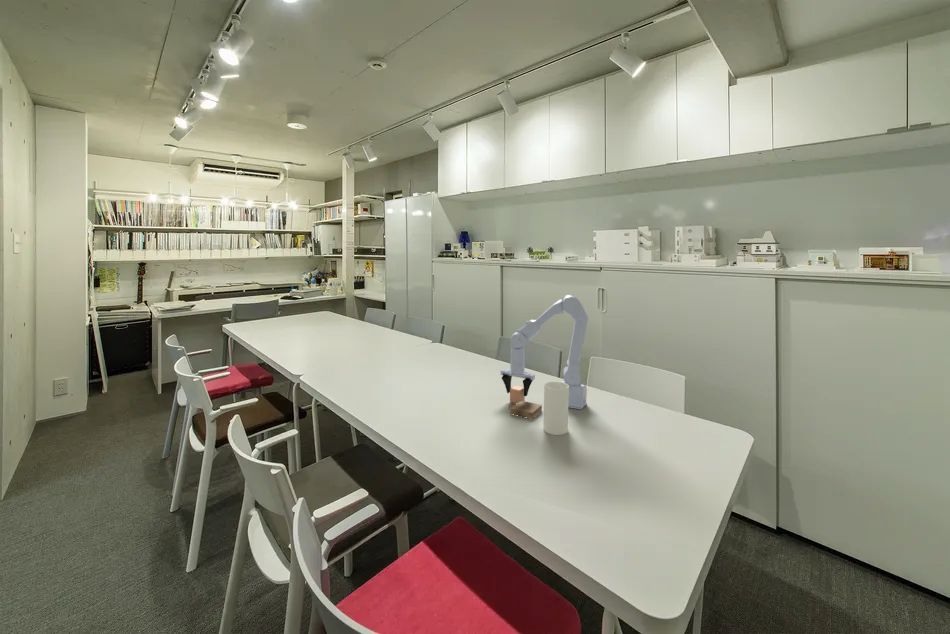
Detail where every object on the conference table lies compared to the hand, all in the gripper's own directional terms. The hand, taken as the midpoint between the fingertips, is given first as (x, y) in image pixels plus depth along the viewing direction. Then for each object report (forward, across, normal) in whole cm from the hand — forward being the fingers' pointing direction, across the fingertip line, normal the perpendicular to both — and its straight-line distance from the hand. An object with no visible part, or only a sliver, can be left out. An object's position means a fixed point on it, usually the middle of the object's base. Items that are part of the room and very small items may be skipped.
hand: (517, 393), depth 166 cm
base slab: (+4, +8, -9) cm, 13 cm away
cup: (+3, +23, -18) cm, 29 cm away
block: (+3, 0, 0) cm, 3 cm away
